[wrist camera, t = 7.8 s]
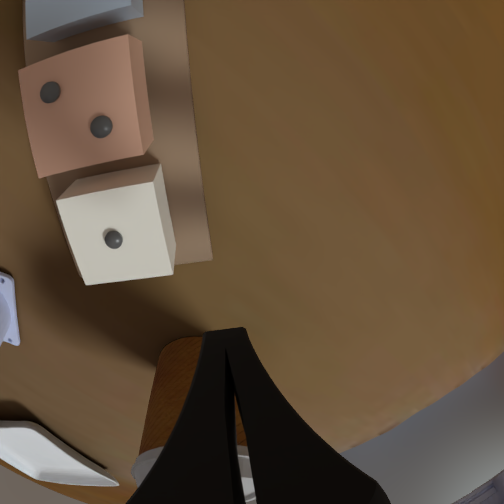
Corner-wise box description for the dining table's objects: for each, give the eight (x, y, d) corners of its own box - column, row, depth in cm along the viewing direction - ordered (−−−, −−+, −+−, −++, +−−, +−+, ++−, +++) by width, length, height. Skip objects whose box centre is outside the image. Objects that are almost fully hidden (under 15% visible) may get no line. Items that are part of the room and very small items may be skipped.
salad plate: (123, 470, 40) (122, 488, 37) (38, 467, 40) (35, 481, 37) (36, 406, 29) (30, 429, 26) (-42, 406, 29) (-47, 423, 26)
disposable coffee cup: (123, 330, 23) (103, 474, 13) (243, 311, 24) (273, 462, 14) (161, 396, 28) (162, 510, 18) (258, 382, 29) (282, 498, 19)
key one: (176, 244, 19) (172, 276, 16) (98, 255, 18) (84, 287, 16) (160, 163, 16) (152, 183, 13) (76, 179, 16) (54, 202, 13)
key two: (153, 139, 14) (142, 156, 12) (63, 159, 14) (36, 180, 11) (142, 41, 12) (126, 33, 9) (47, 68, 11) (15, 70, 9)
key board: (212, 251, 21) (214, 281, 18) (84, 268, 20) (70, 298, 17) (180, -78, 9) (177, -103, 7) (31, -35, 9) (6, -47, 6)
